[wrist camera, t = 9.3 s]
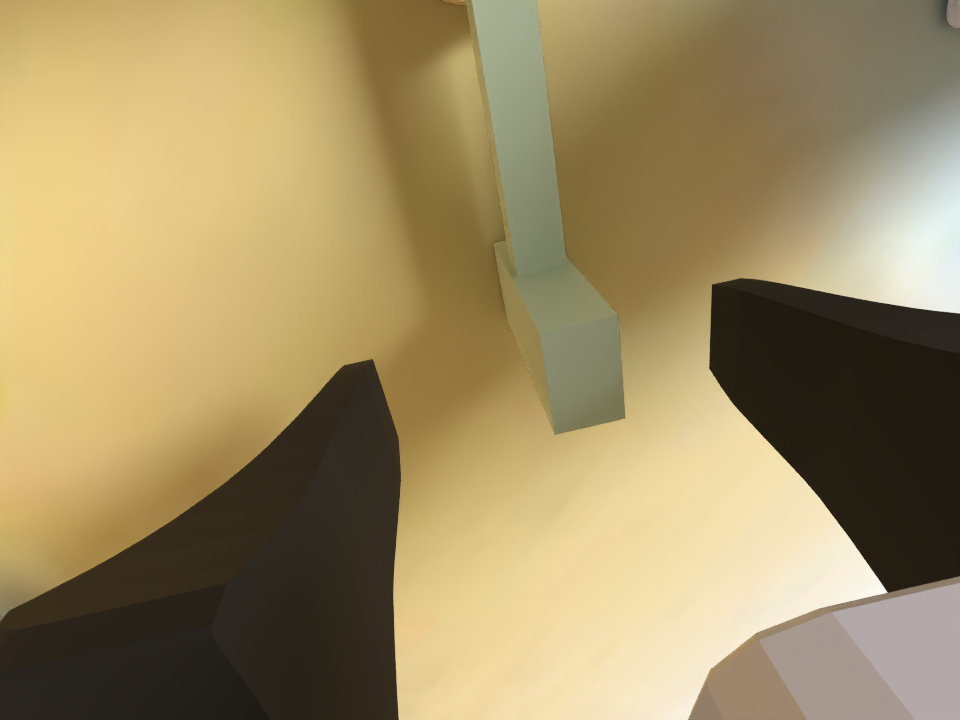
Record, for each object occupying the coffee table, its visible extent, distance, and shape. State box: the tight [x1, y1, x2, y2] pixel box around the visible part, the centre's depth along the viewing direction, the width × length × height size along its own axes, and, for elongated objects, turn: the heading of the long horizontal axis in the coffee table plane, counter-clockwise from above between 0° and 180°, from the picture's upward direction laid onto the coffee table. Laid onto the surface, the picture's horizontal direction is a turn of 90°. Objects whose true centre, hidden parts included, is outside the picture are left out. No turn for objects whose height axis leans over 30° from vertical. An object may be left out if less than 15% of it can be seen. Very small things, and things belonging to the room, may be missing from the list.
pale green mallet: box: [465, 0, 625, 435], centre depth 11 cm, size 4×13×6 cm, turn 11°
